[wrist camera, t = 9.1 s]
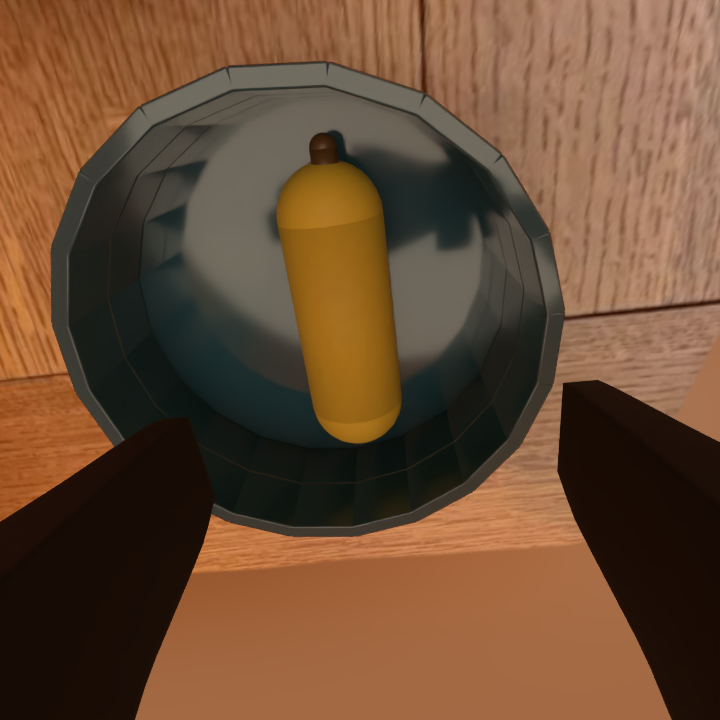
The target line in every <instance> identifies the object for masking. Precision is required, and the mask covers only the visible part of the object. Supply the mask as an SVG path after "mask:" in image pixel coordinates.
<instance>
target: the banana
mask: <svg viewBox="0 0 720 720" xmlns="http://www.w3.org/2000/svg"><path fill="white" fill-rule="evenodd" d="M309 153H310V159H311V163H309V164H307V165H305V166H302V167H301V168H300V169H298V170H297V171H296V172H295V173H293V174H292V176H291V177H290V178H289V179H288V180H287V182H286V183H285V185H284V187H283V189H282V190H281V192H280V196H279V199H278V202H277V211H276V216H277V226H278V231H279V236H280V241H281V246H282V251H283V256H284V261H285V266H286V271H287V276H288V281H289V286H290V292H291V297H292V302H293V307H294V312H295V317H296V322H297V327H298V332H299V337H300V342H301V347H302V352H303V357H304V362H305V368H306V373H307V378H308V383H309V388H310V393H311V398H312V403H313V408H314V411H315V414H316V417H317V419H318V421H319V422H320V424H321V425H322V427H323V428H324V429H325V430H326V431H327V432H328V433H329V434H331V435H332V436H333V437H335V438H337V439H339V440H341V441H344V442H349V443H366V442H370V441H373V440H375V439H377V438H379V437H381V436H383V435H384V434H385V433H386V432H387V431H388V430H389V429H390V428H391V427H392V426H393V425H394V423H395V421H396V419H397V417H398V415H399V413H400V409H401V403H402V393H401V383H400V373H399V363H398V353H397V343H396V333H395V323H394V313H393V303H392V294H391V284H390V274H389V264H388V254H387V244H386V234H385V224H384V214H383V207H382V202H381V198H380V196H379V193H378V191H377V189H376V187H375V186H374V184H373V183H372V181H371V180H370V178H369V177H368V176H367V175H366V174H365V173H364V172H363V171H361V170H360V169H358V168H357V167H355V166H354V165H352V164H349V163H347V162H344V161H340V160H339V155H338V148H337V143H336V141H335V139H334V138H333V137H332V136H331V135H330V134H328V133H324V132H321V133H318V134H316V135H314V136H313V137H312V139H311V140H310V143H309Z"/></svg>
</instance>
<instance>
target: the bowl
mask: <svg viewBox="0 0 720 720" xmlns="http://www.w3.org/2000/svg"><path fill="white" fill-rule="evenodd" d="M321 132H324V133H328V134H330V135H331V136H332V137H333V138H334V139H335V141H336V143H337V148H338V155H339V160H340V161H344V162H347V163H349V164H352V165H354V166H355V167H357V168H358V169H360V170H361V171H363V172H364V173H365V174H366V175H367V176H368V177H369V178H370V180H371V181H372V183H373V184H374V186H375V187H376V189H377V191H378V193H379V196H380V198H381V202H382V207H383V214H384V224H385V234H386V244H387V254H388V264H389V274H390V284H391V294H392V303H393V313H394V323H395V333H396V343H397V353H398V363H399V373H400V383H401V393H402V403H401V409H400V413H399V415H398V417H397V419H396V421H395V423H394V425H393V426H392V427H391V428H390V429H389V430H388V431H387V432H386V433H385V434H384V435H383V436H381V437H379V438H377V439H375V440H373V441H370V442H366V443H349V442H344V441H341V440H339V439H337V438H335V437H333V436H332V435H331V434H329V433H328V432H327V431H326V430H325V429H324V428H323V427H322V425H321V424H320V422H319V421H318V419H317V417H316V414H315V411H314V408H313V403H312V398H311V393H310V388H309V383H308V378H307V373H306V368H305V362H304V357H303V352H302V347H301V342H300V337H299V332H298V327H297V322H296V317H295V312H294V307H293V302H292V297H291V292H290V286H289V281H288V276H287V271H286V266H285V261H284V256H283V251H282V246H281V241H280V236H279V231H278V226H277V216H276V211H277V202H278V199H279V196H280V192H281V190H282V189H283V187H284V185H285V183H286V182H287V180H288V179H289V178H290V177H291V176H292V174H293V173H295V172H296V171H297V170H298V169H300V168H301V167H302V166H305V165H307V164H309V163H311V159H310V153H309V143H310V140H311V139H312V137H313V136H314V135H316V134H318V133H321ZM51 247H52V248H51V322H52V323H53V324H52V327H53V330H54V333H55V336H56V338H57V341H58V344H59V347H60V350H61V353H62V356H63V358H64V361H65V364H66V367H67V370H68V373H69V376H70V379H71V381H72V384H73V387H74V390H75V392H77V393H76V394H77V396H78V397H79V398H80V400H81V401H82V403H83V404H84V405H85V407H86V408H87V410H88V411H89V412H90V414H91V415H92V417H93V418H94V419H95V421H96V422H97V423H98V425H99V426H100V428H101V429H102V430H103V432H104V433H105V435H106V436H107V437H108V439H109V440H110V442H111V443H112V444H113V446H114V447H115V446H117V445H118V444H120V443H121V442H123V441H124V440H126V439H127V438H129V437H130V436H132V435H133V434H135V433H136V432H138V431H140V430H141V429H143V428H145V427H146V426H148V425H150V424H152V423H153V422H155V421H157V420H159V419H168V418H179V417H189V419H190V422H191V425H192V428H193V431H194V434H195V437H196V440H197V443H198V446H199V449H200V452H201V455H202V458H203V461H204V463H205V466H206V469H207V472H208V475H209V478H210V481H211V484H212V487H213V490H214V493H215V501H214V505H213V509H212V513H211V514H212V515H215V516H217V517H219V518H221V519H223V520H225V521H227V522H228V521H229V522H230V523H234V524H238V525H242V526H247V527H251V528H256V529H260V530H264V531H269V532H273V533H277V534H282V535H286V536H292V537H354V536H361V535H365V534H369V533H373V532H377V531H381V530H385V529H390V528H394V527H398V526H402V525H406V524H410V523H414V522H417V521H420V520H421V519H423V518H425V517H427V516H429V515H431V514H433V513H434V512H436V511H438V510H440V509H442V508H444V507H446V506H448V505H449V504H451V503H453V502H455V501H457V500H459V499H461V498H462V497H464V496H466V495H468V494H470V493H472V492H473V491H475V490H476V489H477V488H478V487H479V486H480V485H481V484H482V483H483V482H484V481H485V480H486V479H487V478H488V477H489V476H490V475H491V474H492V473H493V472H494V471H495V470H496V469H497V468H498V467H499V466H500V465H501V464H503V463H504V462H505V461H506V460H507V459H508V458H509V457H510V456H511V455H512V454H513V453H514V452H515V451H516V450H517V449H518V448H519V447H520V445H521V444H522V442H523V440H524V439H525V437H526V435H527V433H528V431H529V429H530V427H531V426H532V424H533V422H534V420H535V418H536V416H537V414H538V413H539V411H540V409H541V407H542V405H543V403H544V401H545V400H546V398H547V396H548V394H549V392H550V390H551V388H552V386H553V385H552V384H553V383H554V378H555V372H556V366H557V360H558V353H559V347H560V341H561V335H562V329H563V322H564V316H565V312H564V311H565V307H564V301H563V296H562V291H561V286H560V281H559V275H558V270H557V265H556V260H555V255H554V249H553V244H552V239H551V234H550V232H549V229H548V227H547V225H546V224H545V222H544V220H543V219H542V217H541V215H540V214H539V212H538V211H537V209H536V207H535V206H534V204H533V202H532V201H531V199H530V197H529V196H528V194H527V192H526V191H525V189H524V187H523V186H522V184H521V183H520V181H519V179H518V178H517V176H516V174H515V173H514V171H513V169H512V168H511V166H510V164H509V163H508V161H507V159H506V158H505V156H504V155H502V153H501V152H500V151H499V150H498V149H496V148H495V147H494V146H493V145H491V144H490V143H489V142H488V141H486V140H485V139H484V138H483V137H481V136H480V135H479V134H477V133H476V132H475V131H474V130H472V129H471V128H470V127H469V126H467V125H466V124H465V123H464V122H462V121H461V120H460V119H459V118H457V117H456V116H455V115H454V114H452V113H451V112H450V111H448V110H447V109H446V108H445V107H443V106H442V105H441V104H440V103H438V102H437V101H436V100H435V99H433V98H432V97H431V96H430V95H428V94H425V93H424V92H422V91H419V90H416V89H413V88H410V87H407V86H404V85H401V84H398V83H395V82H392V81H389V80H386V79H383V78H380V77H377V76H374V75H370V74H367V73H364V72H361V71H358V70H355V69H352V68H349V67H346V66H343V65H340V64H337V63H334V62H327V61H311V62H291V63H270V64H249V65H229V66H228V67H222V68H220V69H218V70H216V71H214V72H212V73H209V74H207V75H205V76H203V77H201V78H198V79H196V80H194V81H192V82H190V83H187V84H185V85H183V86H181V87H179V88H177V89H174V90H172V91H170V92H168V93H166V94H163V95H161V96H159V97H157V98H155V99H152V100H150V101H148V102H146V103H144V104H142V105H141V106H139V107H137V108H136V110H135V111H134V112H133V113H132V114H131V115H130V116H129V117H128V118H127V119H126V120H125V121H124V122H123V124H122V125H121V126H120V127H119V128H118V129H117V130H116V131H115V132H114V133H113V134H112V135H111V136H110V138H109V139H108V140H107V141H106V142H105V143H104V144H103V145H102V146H101V147H100V148H99V149H98V151H97V152H96V153H95V154H94V155H93V156H92V157H91V158H90V159H89V160H88V161H87V162H86V163H85V165H84V166H83V167H82V168H81V169H80V172H79V173H78V175H77V178H76V181H75V183H74V186H73V189H72V191H71V194H70V197H69V199H68V202H67V205H66V208H65V210H64V213H63V216H62V218H61V221H60V224H59V226H58V229H57V232H56V234H55V237H54V240H53V242H52V245H51Z"/></svg>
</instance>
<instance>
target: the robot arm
mask: <svg viewBox="0 0 720 720" xmlns="http://www.w3.org/2000/svg"><path fill="white" fill-rule="evenodd" d="M557 471H558V474H559V477H560V480H561V483H562V486H563V489H564V492H565V494H566V497H567V500H568V503H569V505H570V508H571V511H572V513H573V516H574V518H575V521H576V523H577V525H578V527H579V529H580V531H581V533H582V535H583V536H584V538H585V540H586V542H587V544H588V546H589V548H590V550H591V552H592V554H593V556H594V558H595V560H596V562H597V564H598V565H599V567H600V569H601V571H602V573H603V575H604V577H605V579H606V581H607V583H608V585H609V587H610V588H611V590H612V592H613V594H614V596H615V598H616V600H617V602H618V604H619V606H620V608H621V610H622V611H623V613H624V615H625V617H626V619H627V621H628V623H629V625H630V627H631V629H632V631H633V632H634V634H635V636H636V638H637V641H638V642H639V645H640V646H641V649H642V651H643V653H644V655H645V657H646V659H647V661H648V664H649V666H650V668H651V670H652V673H653V675H654V678H655V680H656V683H657V685H658V687H659V690H660V692H661V695H662V697H663V700H664V702H665V705H666V707H667V709H668V712H669V714H670V716H671V719H672V720H720V442H718V441H716V440H714V439H712V438H710V437H708V436H706V435H704V434H702V433H700V432H699V431H697V430H695V429H693V428H691V427H689V426H687V425H685V424H683V423H681V422H679V421H677V420H675V419H673V418H672V417H670V416H668V415H666V414H664V413H662V412H660V411H658V410H656V409H655V408H653V407H651V406H649V405H647V404H645V403H643V402H641V401H639V400H638V399H636V398H634V397H632V396H630V395H628V394H626V393H624V392H622V391H620V390H618V389H616V388H614V387H612V386H610V385H608V384H606V383H604V382H601V381H599V380H592V381H580V382H569V383H563V394H562V409H561V424H560V439H559V454H558V469H557ZM214 501H215V493H214V490H213V487H212V484H211V481H210V478H209V475H208V472H207V469H206V466H205V463H204V461H203V458H202V455H201V452H200V449H199V446H198V443H197V440H196V437H195V434H194V431H193V428H192V425H191V422H190V419H189V417H179V418H168V419H159V420H157V421H155V422H153V423H152V424H150V425H148V426H146V427H145V428H143V429H141V430H140V431H138V432H136V433H135V434H133V435H132V436H130V437H129V438H127V439H126V440H124V441H123V442H121V443H120V444H118V445H117V446H115V447H114V448H112V449H111V450H109V451H108V452H106V453H105V454H103V455H102V456H100V457H99V458H97V459H96V460H95V461H93V462H92V463H90V464H89V465H87V466H86V467H84V468H83V469H81V470H80V471H78V472H77V473H75V474H74V475H72V476H71V477H69V478H68V479H66V480H65V481H64V482H62V483H61V484H59V485H57V486H56V487H54V488H53V489H51V490H50V491H48V492H46V493H45V494H43V495H42V496H40V497H39V498H37V499H35V500H34V501H32V502H31V503H29V504H28V505H26V506H25V507H23V508H21V509H20V510H18V511H17V512H15V513H14V514H12V515H10V516H9V517H7V518H6V519H4V520H3V521H1V522H0V720H135V718H136V714H137V711H138V708H139V704H140V701H141V698H142V695H143V692H144V689H145V686H146V683H147V680H148V677H149V675H150V672H151V669H152V667H153V664H154V661H155V659H156V656H157V654H158V651H159V649H160V647H161V644H162V642H163V640H164V637H165V635H166V632H167V630H168V628H169V625H170V623H171V621H172V618H173V616H174V613H175V611H176V609H177V606H178V603H179V601H180V599H181V597H182V594H183V592H184V589H185V587H186V585H187V582H188V580H189V577H190V575H191V573H192V570H193V568H194V565H195V563H196V560H197V558H198V555H199V553H200V550H201V548H202V545H203V543H204V539H205V535H206V532H207V528H208V525H209V521H210V517H211V513H212V509H213V505H214Z"/></svg>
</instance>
